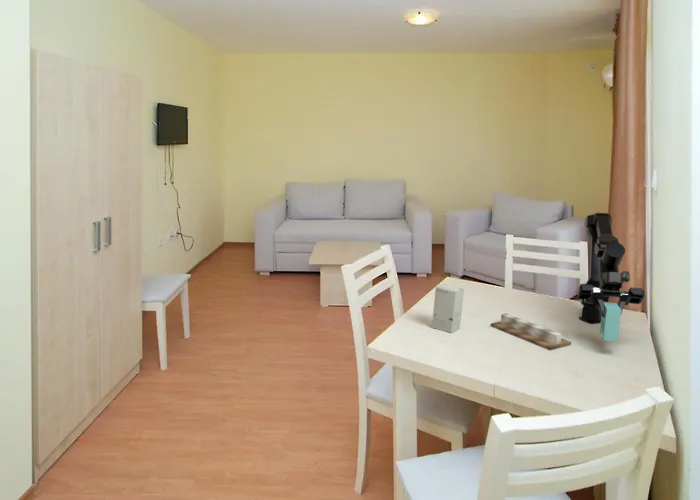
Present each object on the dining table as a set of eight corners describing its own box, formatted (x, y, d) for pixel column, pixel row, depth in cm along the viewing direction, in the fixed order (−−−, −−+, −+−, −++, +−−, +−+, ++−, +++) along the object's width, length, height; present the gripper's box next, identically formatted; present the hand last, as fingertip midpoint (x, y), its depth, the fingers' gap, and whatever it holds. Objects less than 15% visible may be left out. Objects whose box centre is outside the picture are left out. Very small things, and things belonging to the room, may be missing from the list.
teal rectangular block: (599, 332, 188) (603, 302, 186) (613, 333, 187) (616, 303, 185) (603, 340, 181) (607, 308, 179) (617, 341, 180) (621, 310, 178)
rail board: (490, 326, 208) (491, 315, 207) (511, 321, 213) (511, 311, 212) (549, 350, 186) (550, 338, 185) (571, 344, 191) (572, 333, 190)
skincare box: (431, 328, 205) (433, 286, 202) (440, 323, 209) (443, 283, 206) (452, 333, 200) (455, 291, 197) (461, 329, 204) (464, 287, 201)
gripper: (582, 258, 185) (583, 302, 177) (647, 263, 181) (651, 308, 173) (576, 277, 194) (577, 319, 186) (638, 281, 190) (642, 325, 182)
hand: (611, 317), depth 182 cm, fingers closed on teal rectangular block, 4 cm apart
